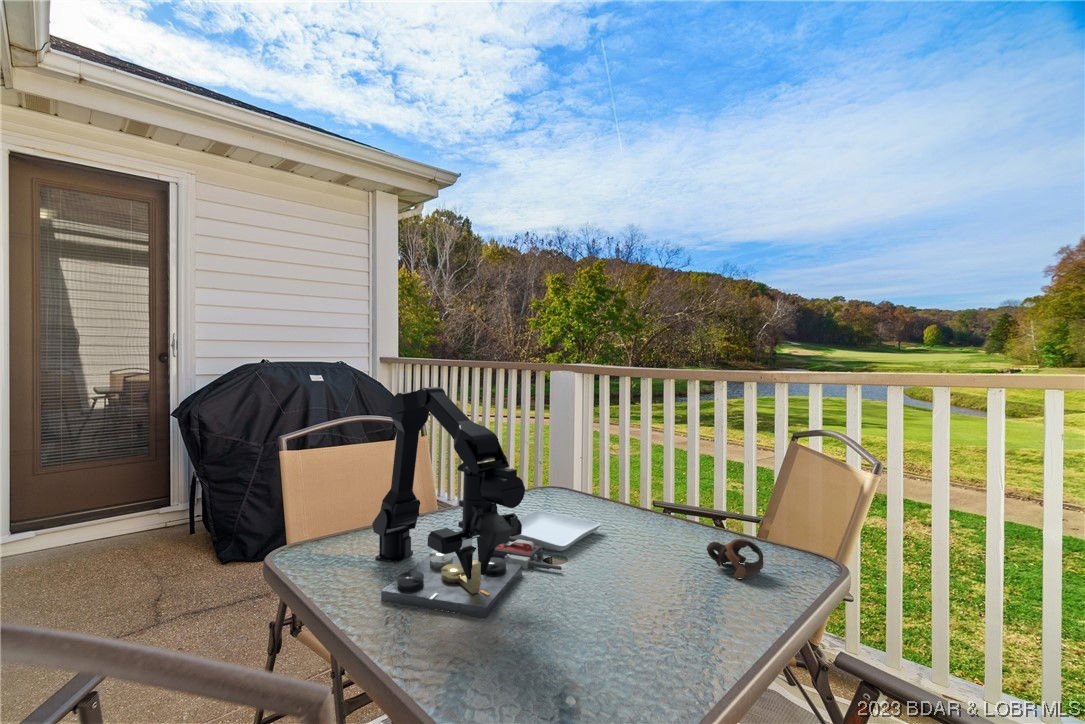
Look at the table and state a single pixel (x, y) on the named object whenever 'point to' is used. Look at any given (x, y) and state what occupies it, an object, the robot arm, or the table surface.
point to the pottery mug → (736, 556)
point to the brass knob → (463, 575)
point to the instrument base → (451, 586)
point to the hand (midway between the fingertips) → (475, 576)
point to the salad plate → (554, 529)
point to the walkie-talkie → (522, 554)
